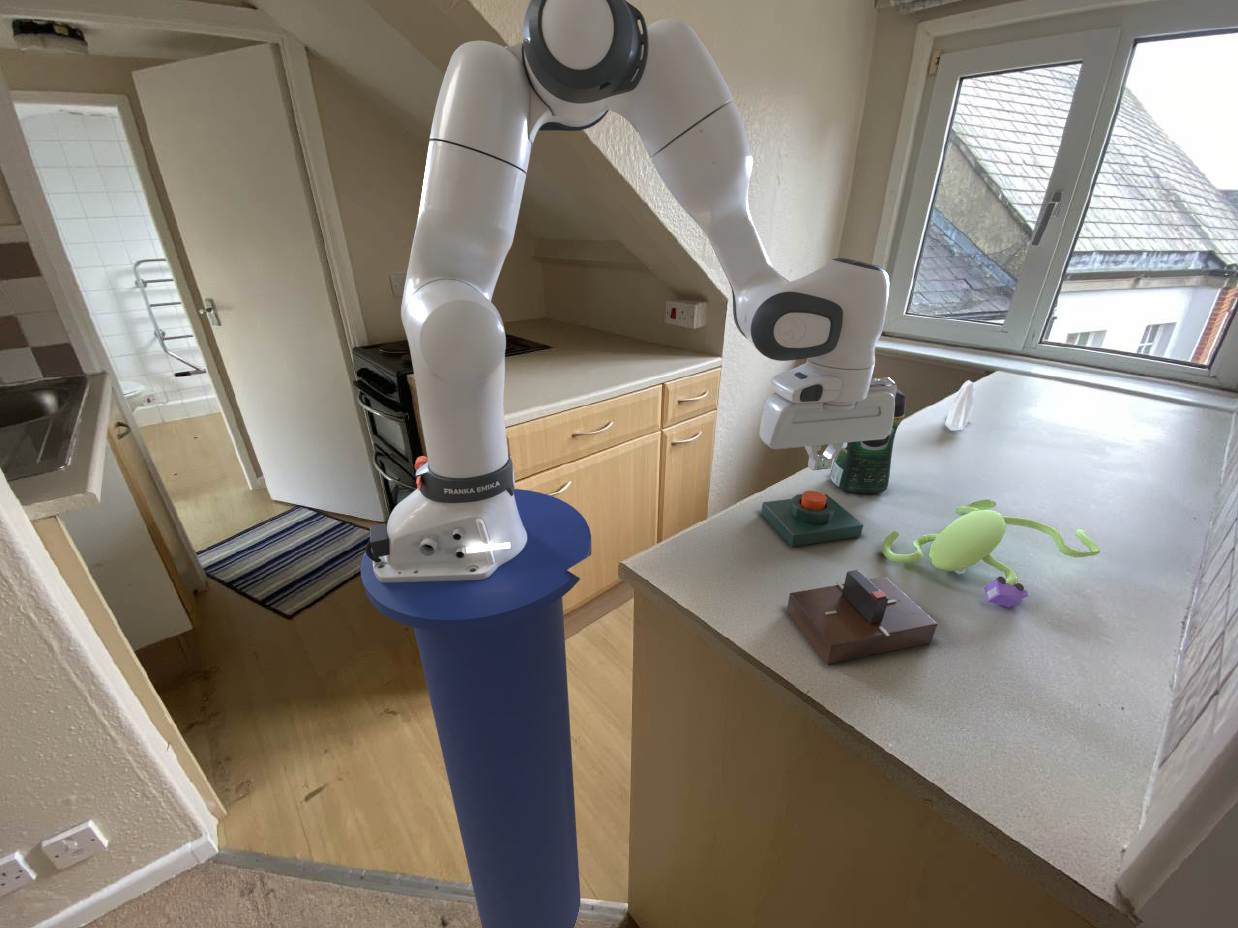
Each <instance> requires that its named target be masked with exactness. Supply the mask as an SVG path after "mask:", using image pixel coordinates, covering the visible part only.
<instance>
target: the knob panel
mask: <svg viewBox="0 0 1238 928" xmlns="http://www.w3.org/2000/svg"><path fill="white" fill-rule="evenodd" d="M868 579H869V578H868ZM869 580H870V581H871V582H872V583H873V584H874V585H875V586H876V587H877V588H878V589H879V590H880V591H882V592H883V593H884V594H885V595H887V597H888V603H887V606H886V610H885V613H884V617H883V620H882V622H878V623H873V624H870V623H869V622H868V621H867V620H866V619H865V618H864V617H863V616H862V615H861V613H860V612H859V611H858V610H857V609H856V608H855V607H854V606H853V605H852V604H851V603H850V602H849V601H848V600H847V599H846V598H845V597H844V596H843V595H842V591H843V587H844V583H841V582H840V581H836V582H835V583H836V584H835V585H829V586H824V587H818V588H811V589H806V590H805V589H804V590H801V591H793V592H790V593H789V597H788V602H787V606H786V607H787V608H786V613H787V614H788V615H789V616H790V618H791V620H793V622H795V624H796V626H797V627H798V628H799V630H800V631H801V632H802V634H803V635H804V636H805V638H806V639H807V640H808V642H809V643H810V644H811V645H812V646H813V648H814V649H815V651H816V652H817V653H818V655H819V656H820V657H821V658H822V660H823V661H824V662H825V664H826V665H830V664H836V663H840V662H845V661H849V660H854V659H859V658H864V657H869V656H874V655H878V654H883V653H889V652H892V651H898V650H902V649H907V648H908V649H909V648H912V647H917V646H921V645H926V644H930V643H932V641H933V638H934V636H935V633H936V630H937V628H938V622H936V621H935V620H934V619H933V618H932V616H930V615H929V614H928V613H926V612H925V611H924V610H923V609H922V608H921V607H920V606H919V605H918V604H917V603H915V601H914V600H912V599H911V598H910V597H909V596H908V595H907V594H906V593H905V592H903V591H902V589H900V588H899V587H898V586H897V585H896V584H895V583H894V582H893V581H892V580H890V579H889V578H888V576H880V577H876V578H870V579H869Z"/></svg>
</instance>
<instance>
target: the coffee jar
mask: <svg viewBox="0 0 1238 928" xmlns="http://www.w3.org/2000/svg"><path fill="white" fill-rule="evenodd" d="M906 402H907V398H906V395H905V394H904V393H903V392H902V391H901V390H900V389H898V388H897V392H896V396H895V410H894V419H893V425H892V430H891V432H890V434H889V435H888V436H887V437H886V438H885V439H878V440H867V441H857V442H847V443H843V447H842V449H841V451H840V452H839V453H838V454H837V455H836V457H835V458H834V459H833V461H832V465H831V468H830V469H831V470H830V473H829V477H830V480H831V483H832V484H833V486H835V487H836V488H838V489H839V490H841V491H844V492H847V493H857V494H879V493H881V494H882V493H883V492H885V491H886V490H887V489H888V487H889V481H890V474H891V467H892V457H893V450H894V442H895V437H896V433H897V430H898V428H899V427H900V425H901V423H902V422H903V420H904V418H905V414H906V404H907V403H906Z"/></svg>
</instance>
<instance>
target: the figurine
mask: <svg viewBox="0 0 1238 928" xmlns="http://www.w3.org/2000/svg"><path fill="white" fill-rule="evenodd" d="M996 506H997V502H996V501H995V500H992V499H981V500H976V501H974V502H971V503H970V504H967V505H959V506H957V507H956V508H955V512H956V514H958V515H961V516H959V517H957V518H956V519H954V520H953V521H952V522H950V523H949V524H948V525H946V527H944V528H943V529H942V531H940V532H939V533H926V534H924V535H921V536H919V537H917V538H916V539H915V540H914V541H912V546H913V547H914V548H915V549H916V551H914V552H913V553H909V554H900V553H899V554H898V553H895V552H893V551H892V550H891V547H892V544H893V543H894V541H895V540H896V539H897V538H898V537H899V535H900V533H899V532H898V531H893V530H892V531H891V532H890V533H889V534H888V535H887V536H886V537H885V539H884V540H883V542H882V546H881V552H882V554H883V556H884V557H885V558H887V560H889V561H891V562H893V563H901V564H912V563H915V562H918V561H920V560H922V559H923V558H924V554H923V552H922V549H921V548H922V546H924V545H925V544H927V543H930V542H932V543H931V545H930V549H929V554H928V557H929V560H930V562H931V565H932V566H933V567H934V568H936V569H937V570H940V571H944V572H954V573H955V574H958V575H959V576H963V575H964V574H965V573H966V572H967V568H969V567H971V566H974V565H976V564H977V563H979V562H980V561H983V562H984V563H986V564H987V565H989V566H991V567H993V568H995V569H997V570H999V571H1000V572H1003V573H1004V575H1005V577H1003V576H1000V575H999V576H997V577H996V578H995V580H994V581H992V582H990V583H988V584H984V585H983V588H984V593H985V596H986V601H987V602H989V603H992V604H995V605H998V606H1001V607H1005V608H1011V607H1014V606H1016V605H1019V604H1020V603H1021V602H1022V600H1023V599H1025V598H1026V597H1029V593H1028V590H1025V587H1024V585H1023V584H1021V583H1020V582H1018V577H1017V574H1016V571H1015V570H1013V569H1012V568H1010V567H1009V566H1008V565H1005V564H1004V563H1003V562H1001V561H999V560H997V559H996V558H994V557H993V556H992V555H991V554H992V552H993V551H994V550H995V549H996V548H997V547H998V546H999V545H1000V543H1001V542H1002V540H1003V538H1004V535H1005V534H1006V531H1007V530H1006V529H1007V528H1006V527H1007V525H1010V526H1018V527H1025V528H1030V529H1034V530H1036V531H1040V532H1042V533H1043V534H1044V533H1045V534H1046V535H1049V536H1050V537H1051V539H1052V540H1053V542H1054V544H1055V547H1056V548H1057V550H1058V552H1060V553H1062V554H1063V555H1065V556H1068V557H1072V558H1086V557H1093V556H1097V555H1099V554H1100V552H1101V550H1102V548H1101V547H1100V546H1099V545H1098V544H1097V543H1096V542H1095V541H1093V540H1092V539H1091V538H1090V537H1089V536H1088V535H1087V531H1086V530H1084V529H1082V528H1078V529H1076V530H1075V536H1076V538H1077V539H1078V540H1079V542H1081V543H1082V545H1084V546H1085V547H1086V548H1087V549H1088V551H1083V550H1078V549H1074V548H1072V547H1071V546H1068V545H1067V544H1066V542H1065V541H1064V539H1063V535H1062V534H1061V532H1060V531H1059V530H1057V528H1055V527H1053V526H1051V525H1048V524H1046V523H1043V522H1040V521H1036V520H1033V519H1029V518H1022V517H1015V516H1006V515H1005V516H1004V515H1002V514H1001V513H1000V512H998V511H996V510H992V508H995V507H996Z"/></svg>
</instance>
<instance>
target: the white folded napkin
mask: <svg viewBox="0 0 1238 928" xmlns="http://www.w3.org/2000/svg"><path fill="white" fill-rule="evenodd" d="M975 397H976V395H975V385H974V382H973V381H971V380H970V379H969V380H966V381H965V382H964V383H963V384H962V385H961V387H960V388H959V389H958V391H957V393H956V395H955V396H954V397H953V399H952V401H951V403H950V407H949V410H948V413H947V416H946V420H945V423H944V425H945V426H946V428H948V429H949V431H951V432H954V431H955V432H956V431H962V430H965V429H966V427H967V426H968V425H967V424H968V423H969V421H970V419H971V415H972V411H973V408H974V405H975V401H976V398H975Z"/></svg>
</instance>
